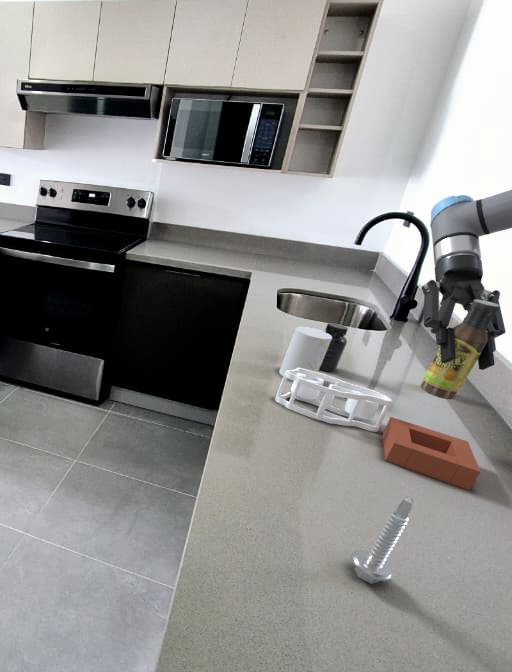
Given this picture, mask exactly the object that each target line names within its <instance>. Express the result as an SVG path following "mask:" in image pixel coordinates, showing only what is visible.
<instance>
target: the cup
mask: <svg viewBox="0 0 512 672" xmlns="http://www.w3.org/2000/svg"><path fill="white" fill-rule="evenodd" d="M331 339H332V336H331V335H330V334H328V333H326V331H323V330H321V329H318V328H315V327H314V328H313V327H309V326H296V327H295V329H294V332H293V334H292V337H291V340H290V342H289V345H288V348H287V351H286V353H285V355H284V359H283V361H282V363H281V366H280V368H279V374H280V375H281V376H282V377H284V374H285V373H286V371H287V370H294V369H296V368H303V369H307V370H311V371H315V372H319V371H320V370H319V368H320V366H321V363H322V361H323V359H324V356H325V354H326V351H327V349H328V347H329V344H330V342H331ZM287 380H290V381H292V382H294V380H292V379H289V378H287Z"/></svg>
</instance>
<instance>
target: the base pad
mask: <svg viewBox="0 0 512 672" xmlns="http://www.w3.org/2000/svg"><path fill="white" fill-rule="evenodd" d="M382 441H383V452H384V461H385V462H388V463H391V464H394V465H396V466H400V467H403V468H405V469H408V470H410V471H414V472H416V473H419V474H422V475H425V476H427V477H430V478H434V479H436V480H438V481H441V482H444V483H448V484H450V485H453V486H456V487H458V488H462V489H464V490H467V491H471V489H472V487H473V486H474V484H475V483H476V481H477V479H478V478H479V476H480V475H481V473H482V471H481V469H480V466H479V464H478V461H477V459H476V457H475V455H474V453H473V450H472V448H471V446H470V443H469V441H468V440H464V439H462V438H459V437H455V436H452V435H449V434H446V433H443V432H439V431H436V430H433V429H430V428H427V427H424V426H420V425H417V424H415V423H411V422H408V421H405V420H402V419H399V418H396V417H393V416H390V418H389V419H388V421H387V423H386V426H385V427H384V429H383V431H382Z"/></svg>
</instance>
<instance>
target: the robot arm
mask: <svg viewBox="0 0 512 672" xmlns="http://www.w3.org/2000/svg"><path fill="white" fill-rule="evenodd" d="M429 226H430V231H431V240H432V252H433V263H434V277H435V279H430V280H428V281H427V282H426V283H425V284H423V285H422V286H421V290H422V293H423V298H424V299H423V326H424V327H425V328H430V332H431V334H433V335H434V334H435V343H436V345H437V346H439V348H440V352H441V363H447V362H449V361H451V360H453V359H455V358H456V355H455V344H454V333H453V328H454V327H449V325H450V321H451V319H452V316H453V313H454V310H455V307H456V304H458V305H461V306H462V308H463V310H464V311H466V312H467V313H468V312H469V310H470V306H471V304H472V302H473V301H474V300H484V301H488V302H492V303H495V304H498V305H499V306H500V307H499V309H498V311H497V313H495V314H494V316H493V317H492V319H491V321H490V323H489V326H488V327H487V328H486V332H487V338H488V340H487V343H486V345H485V346H484V348H483V350H482V353H481V354H480V356H479V358H478V359H477V363H478V369H479V370H480V371H484V370H487V369H488V368H490V367H493V366H495V365H496V363H495V356H494V353H495V352H496V350H497V346H496V338H498V337H500V336H502V335H504V334H506V332H507V331H506V327H505V323H504V317H503V313H502V310H501V309H502V308H501V304H500V296H501V292H500V290H498V289H495V290H493V291H491V290H488V289H485V285H484V284H483V282H482V279H483V276H484V268H483V261H482V251H481V245H480V237H483V236H487V235H488V236H489V235H490V234H494V233H498V232H502V231H506V230H509V229H512V189H509V190H506V191H502V192H499V193H497V194H494V195H491V196H487V197H485V198H484V197H483V198H480V199H476V200H474V199H473V198H472V197H471V196H470V195H466V194H460V195H459V194H458V195H449V196H447V197H445V198H443V199H440V200H438V202H436V203H435V204H433V206H432V209H431V211H430V225H429ZM440 294H441V295H442V297H441V300H440Z"/></svg>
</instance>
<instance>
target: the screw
mask: <svg viewBox="0 0 512 672" xmlns="http://www.w3.org/2000/svg"><path fill="white" fill-rule="evenodd" d="M414 503H415V499H413V497H411V496H406V497H405V498H404V499H402V500H401V502H399V504H398V505H397V506H396V508H394V509H393V512H390V515H388V519H386V523H384V526H383V527H382V530H380V533H379V534H378V537H377V538H376V540H375V541H374V544H372V547H371V548H370V551H369V550H365V549H357V550H354V551H353V552H352V553H351V555H350V559H351V562H352V564H353V565H354V566H355V568H354V571H355V573H356V574H357V577H358V578H359V579H361V580H362V581H364V582H365V583H368V584H370V585H373V584H376V583H380V582H381V581H382V582H390V581H392V580H393V579H394V577H395V574H396V573H395V571H394V569H393V566H392V565H391V564H390V563H389V562H388V561H387V559H388V557H389V556H390V554H391V551H393V549H394V547H395V545H396V543H397V542H398V540H399V538H400V536H401V535H402V532H403V531H404V529H405V528H406V525H408V521H409V520H410V517H409V515H410V513H411V511H412V509H413V507H414Z"/></svg>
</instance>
